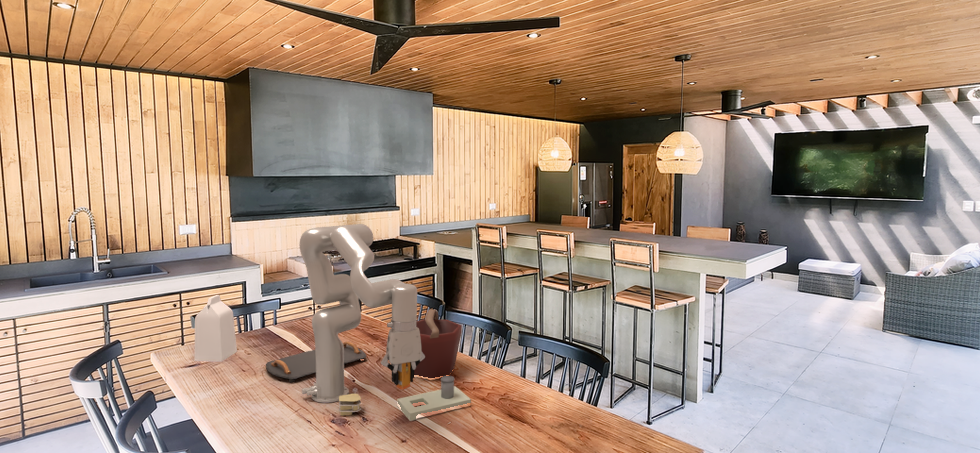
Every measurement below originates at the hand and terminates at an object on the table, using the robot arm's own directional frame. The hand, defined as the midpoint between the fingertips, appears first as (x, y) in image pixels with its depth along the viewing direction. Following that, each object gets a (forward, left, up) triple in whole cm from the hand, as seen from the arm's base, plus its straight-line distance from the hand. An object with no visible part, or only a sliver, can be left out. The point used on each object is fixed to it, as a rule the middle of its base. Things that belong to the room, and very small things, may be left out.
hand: (402, 381), depth 154 cm
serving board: (-13, +66, -15) cm, 69 cm away
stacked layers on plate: (-12, +17, -15) cm, 26 cm away
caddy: (+14, +8, -15) cm, 22 cm away
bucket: (+25, +36, -15) cm, 47 cm away
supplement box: (0, 0, -2) cm, 2 cm away
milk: (-49, +95, -15) cm, 108 cm away
